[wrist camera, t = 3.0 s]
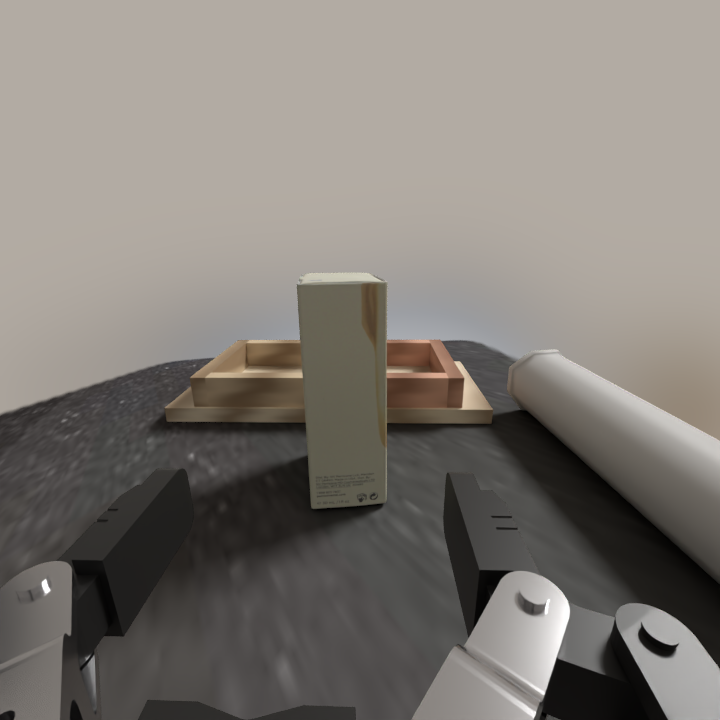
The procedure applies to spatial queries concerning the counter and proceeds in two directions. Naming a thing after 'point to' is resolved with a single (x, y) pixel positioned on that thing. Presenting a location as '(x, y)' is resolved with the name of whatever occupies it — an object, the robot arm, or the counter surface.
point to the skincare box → (344, 386)
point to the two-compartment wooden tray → (286, 394)
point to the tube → (630, 449)
